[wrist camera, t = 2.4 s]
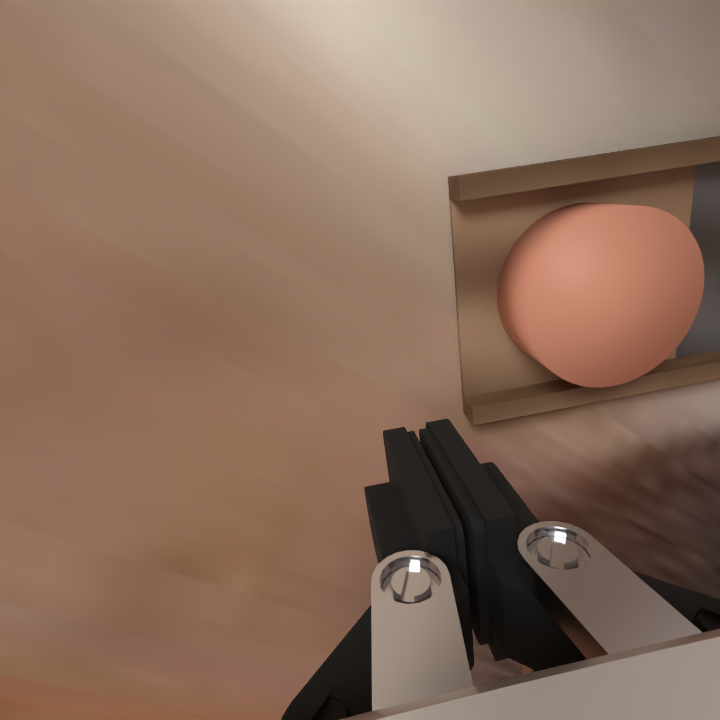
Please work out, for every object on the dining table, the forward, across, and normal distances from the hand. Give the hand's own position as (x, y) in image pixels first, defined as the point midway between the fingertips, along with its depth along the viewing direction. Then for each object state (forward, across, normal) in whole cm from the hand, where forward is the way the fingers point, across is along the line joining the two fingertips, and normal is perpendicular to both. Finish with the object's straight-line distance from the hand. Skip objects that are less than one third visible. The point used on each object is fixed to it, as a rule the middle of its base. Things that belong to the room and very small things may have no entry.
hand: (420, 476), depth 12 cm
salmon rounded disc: (+12, -11, -1) cm, 16 cm away
